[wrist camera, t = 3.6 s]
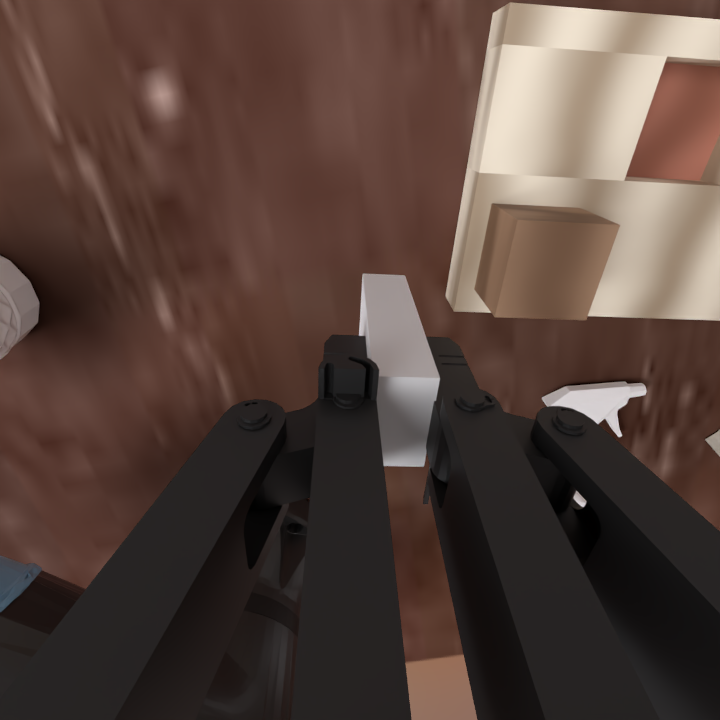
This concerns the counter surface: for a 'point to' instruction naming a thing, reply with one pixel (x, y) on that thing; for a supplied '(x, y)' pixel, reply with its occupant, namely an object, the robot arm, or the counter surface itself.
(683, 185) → the trap deck
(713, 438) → the condiment
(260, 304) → the counter surface
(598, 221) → the walnut block
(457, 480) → the robot arm
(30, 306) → the white cup
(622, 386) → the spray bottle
